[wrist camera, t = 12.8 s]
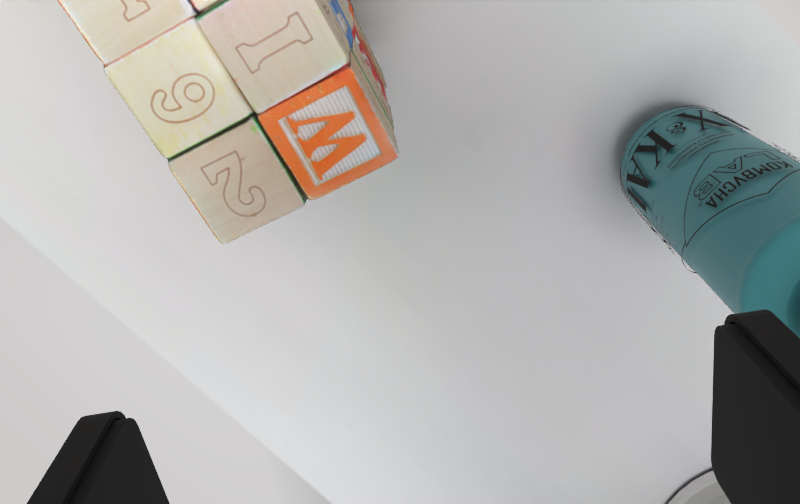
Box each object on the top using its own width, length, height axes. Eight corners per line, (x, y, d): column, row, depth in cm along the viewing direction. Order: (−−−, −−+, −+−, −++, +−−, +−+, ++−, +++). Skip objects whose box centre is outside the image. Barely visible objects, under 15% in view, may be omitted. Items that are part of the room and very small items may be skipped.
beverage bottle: (744, 145, 39) (1070, 342, 21) (654, 228, 41) (882, 472, 23) (672, 69, 37) (965, 215, 19) (580, 160, 39) (768, 370, 21)
